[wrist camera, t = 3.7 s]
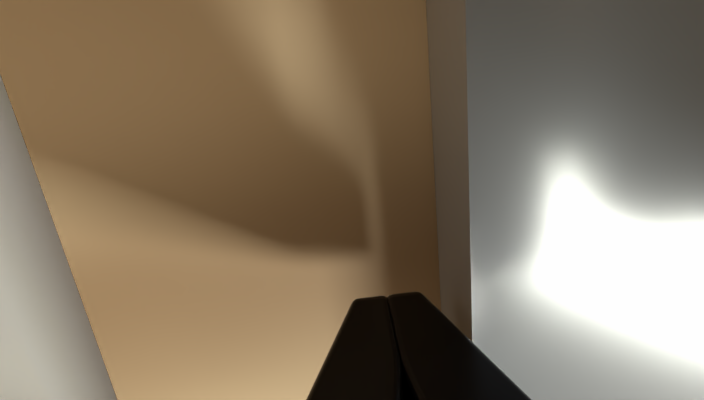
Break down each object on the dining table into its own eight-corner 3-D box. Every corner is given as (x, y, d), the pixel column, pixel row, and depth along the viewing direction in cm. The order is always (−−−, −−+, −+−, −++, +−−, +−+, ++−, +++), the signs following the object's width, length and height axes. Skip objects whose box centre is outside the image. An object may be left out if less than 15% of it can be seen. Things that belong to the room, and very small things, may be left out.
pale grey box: (802, 434, 11) (895, 546, 10) (449, 481, 11) (477, 602, 9) (1006, -176, 7) (1250, -174, 5) (420, -104, 7) (463, -79, 5)
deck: (540, 477, 18) (599, 639, 14) (236, 512, 17) (219, 684, 14) (639, -684, 8) (923, -1106, 4) (-68, -622, 7) (-390, -1007, 4)
